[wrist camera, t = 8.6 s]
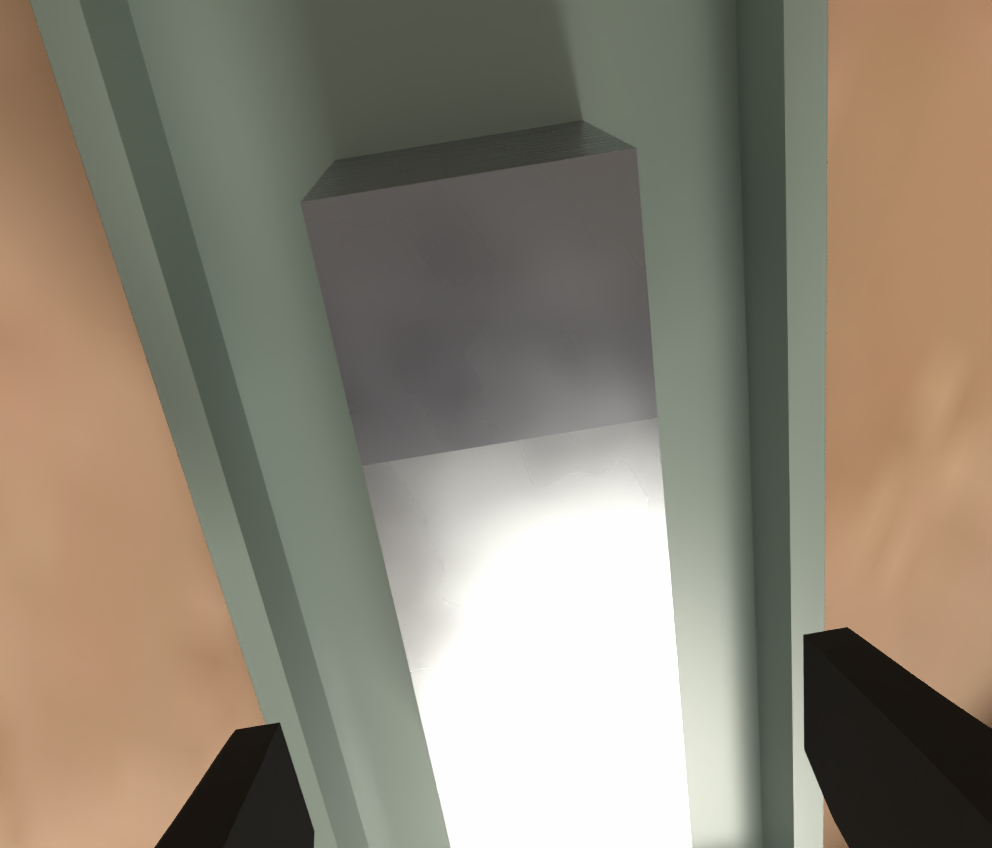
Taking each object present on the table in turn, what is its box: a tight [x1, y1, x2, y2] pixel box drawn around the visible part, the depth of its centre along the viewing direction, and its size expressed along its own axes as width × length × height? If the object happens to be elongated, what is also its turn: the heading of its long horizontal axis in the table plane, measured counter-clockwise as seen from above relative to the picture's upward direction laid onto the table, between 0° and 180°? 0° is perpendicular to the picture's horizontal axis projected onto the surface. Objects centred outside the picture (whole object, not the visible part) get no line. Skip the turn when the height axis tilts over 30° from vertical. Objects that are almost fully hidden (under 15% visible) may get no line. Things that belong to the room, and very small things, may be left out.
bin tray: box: [30, 0, 828, 848], centre depth 16 cm, size 10×24×2 cm, turn 8°
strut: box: [300, 120, 692, 848], centre depth 15 cm, size 4×14×4 cm, turn 8°
